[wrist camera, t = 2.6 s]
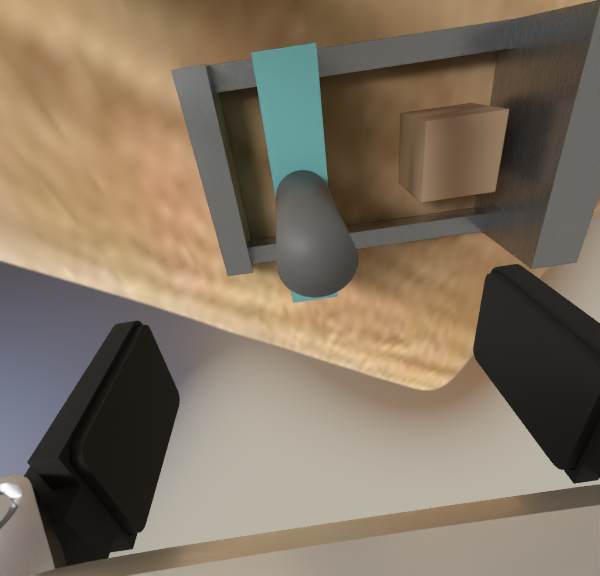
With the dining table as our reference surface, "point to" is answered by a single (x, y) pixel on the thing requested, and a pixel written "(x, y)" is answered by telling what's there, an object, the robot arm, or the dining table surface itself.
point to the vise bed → (506, 94)
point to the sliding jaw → (301, 176)
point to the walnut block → (451, 150)
